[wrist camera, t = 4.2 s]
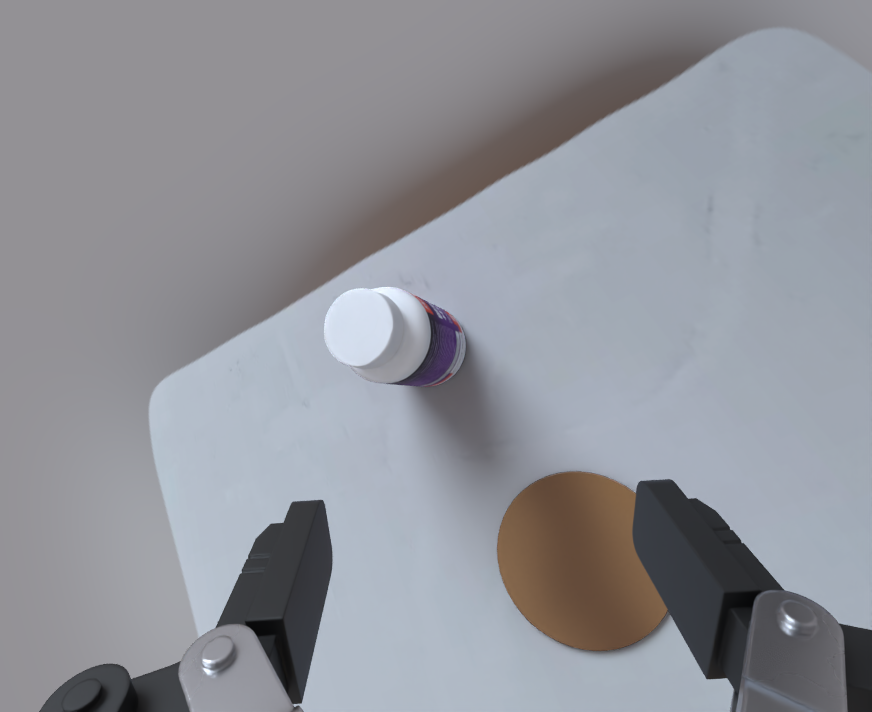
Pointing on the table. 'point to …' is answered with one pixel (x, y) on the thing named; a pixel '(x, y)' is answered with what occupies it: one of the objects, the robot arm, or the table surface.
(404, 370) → the pill bottle
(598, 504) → the coaster
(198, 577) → the table surface
